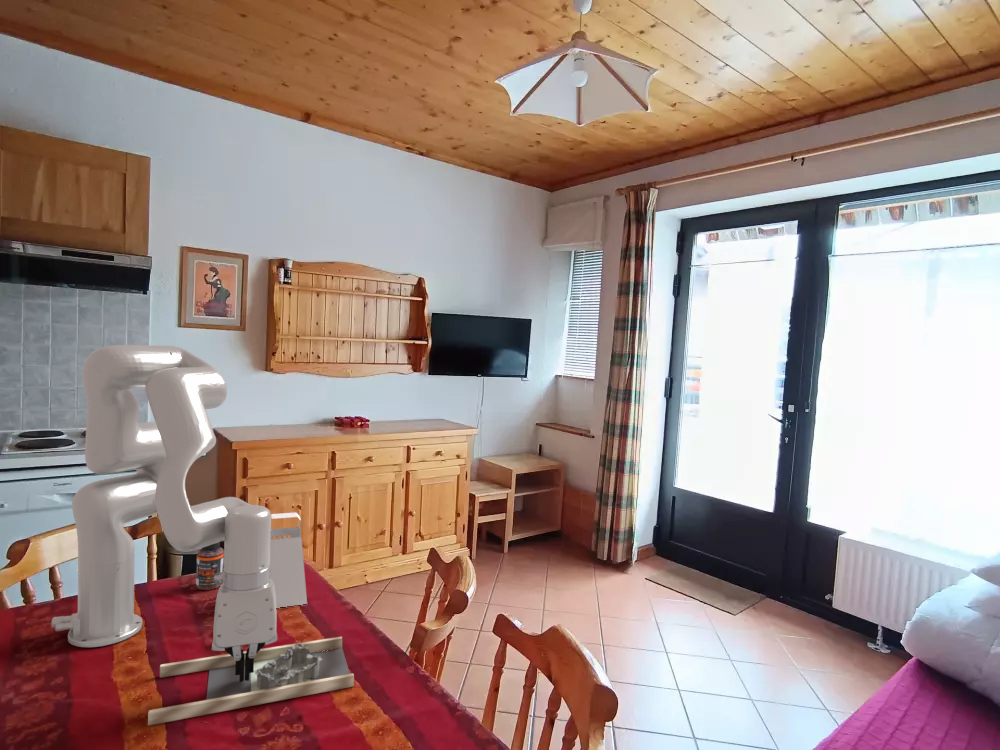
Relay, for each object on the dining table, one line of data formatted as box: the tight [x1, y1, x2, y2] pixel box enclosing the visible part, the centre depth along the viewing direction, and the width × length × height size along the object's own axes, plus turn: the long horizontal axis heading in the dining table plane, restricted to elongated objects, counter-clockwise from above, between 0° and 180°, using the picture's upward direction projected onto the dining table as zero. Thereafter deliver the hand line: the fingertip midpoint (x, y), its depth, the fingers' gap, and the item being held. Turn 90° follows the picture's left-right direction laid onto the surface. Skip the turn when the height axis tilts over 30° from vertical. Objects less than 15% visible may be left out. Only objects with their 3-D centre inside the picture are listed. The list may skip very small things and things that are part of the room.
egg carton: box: [253, 641, 323, 689], centre depth 105 cm, size 11×8×4 cm
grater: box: [270, 512, 308, 609], centre depth 137 cm, size 10×10×20 cm
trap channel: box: [147, 636, 355, 726], centre depth 105 cm, size 32×15×2 cm, turn 114°
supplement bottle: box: [195, 542, 224, 591], centre depth 142 cm, size 6×6×11 cm
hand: (244, 676), depth 104 cm, fingers closed
